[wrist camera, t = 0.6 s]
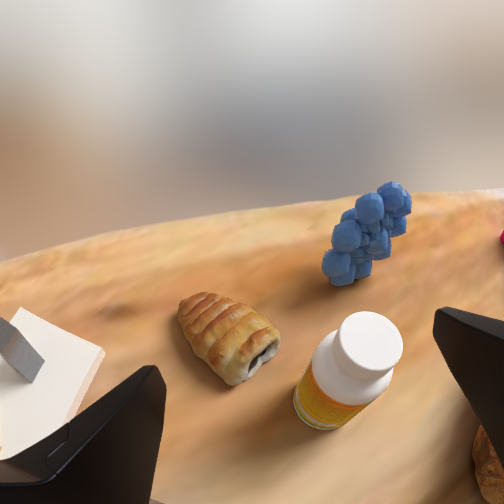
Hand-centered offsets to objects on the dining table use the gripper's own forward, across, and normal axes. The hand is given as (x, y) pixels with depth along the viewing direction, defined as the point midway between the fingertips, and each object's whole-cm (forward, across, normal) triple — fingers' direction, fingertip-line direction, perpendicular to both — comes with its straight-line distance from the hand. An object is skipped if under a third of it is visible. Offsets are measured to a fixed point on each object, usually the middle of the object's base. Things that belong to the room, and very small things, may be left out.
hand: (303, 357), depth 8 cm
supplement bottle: (+10, -2, +13) cm, 16 cm away
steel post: (+8, +23, +5) cm, 24 cm away
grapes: (+24, -8, +8) cm, 26 cm away
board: (+4, +24, +8) cm, 26 cm away
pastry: (+14, +6, +9) cm, 18 cm away
